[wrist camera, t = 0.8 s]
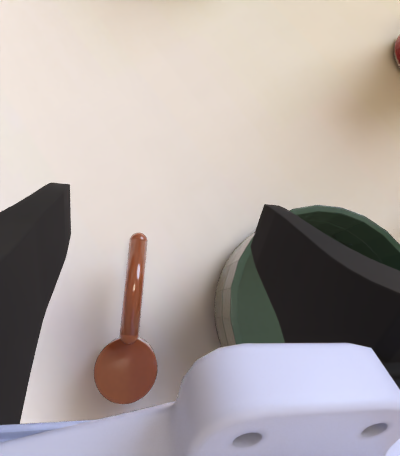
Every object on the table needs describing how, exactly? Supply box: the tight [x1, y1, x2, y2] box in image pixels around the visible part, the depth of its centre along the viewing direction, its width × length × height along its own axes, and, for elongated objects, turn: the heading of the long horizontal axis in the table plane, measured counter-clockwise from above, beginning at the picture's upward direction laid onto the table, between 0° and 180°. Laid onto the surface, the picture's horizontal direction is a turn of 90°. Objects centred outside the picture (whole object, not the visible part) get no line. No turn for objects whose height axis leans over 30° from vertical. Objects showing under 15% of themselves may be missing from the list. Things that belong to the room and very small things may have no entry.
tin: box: [214, 205, 400, 347], centre depth 24 cm, size 15×15×5 cm
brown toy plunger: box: [94, 233, 157, 404], centre depth 23 cm, size 11×4×4 cm, turn 177°
